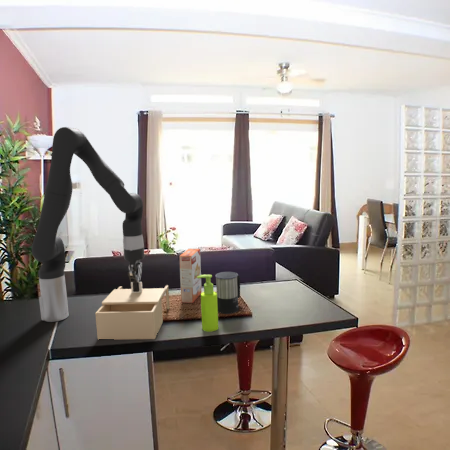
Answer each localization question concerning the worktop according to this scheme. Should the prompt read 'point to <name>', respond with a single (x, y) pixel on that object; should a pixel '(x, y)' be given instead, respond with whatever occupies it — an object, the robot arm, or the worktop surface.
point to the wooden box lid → (134, 296)
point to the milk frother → (227, 292)
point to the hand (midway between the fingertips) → (136, 290)
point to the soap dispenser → (209, 306)
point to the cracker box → (190, 275)
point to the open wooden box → (130, 320)
